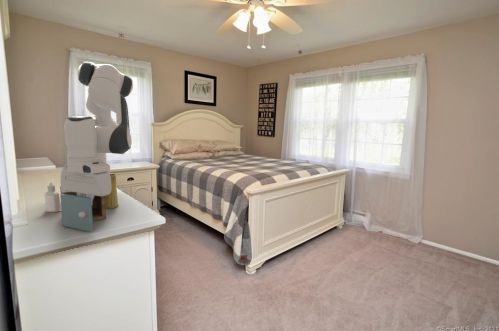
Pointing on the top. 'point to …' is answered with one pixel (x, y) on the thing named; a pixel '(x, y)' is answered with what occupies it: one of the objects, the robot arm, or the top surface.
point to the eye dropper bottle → (52, 199)
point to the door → (76, 212)
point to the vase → (112, 194)
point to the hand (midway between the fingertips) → (86, 205)
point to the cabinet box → (93, 205)
